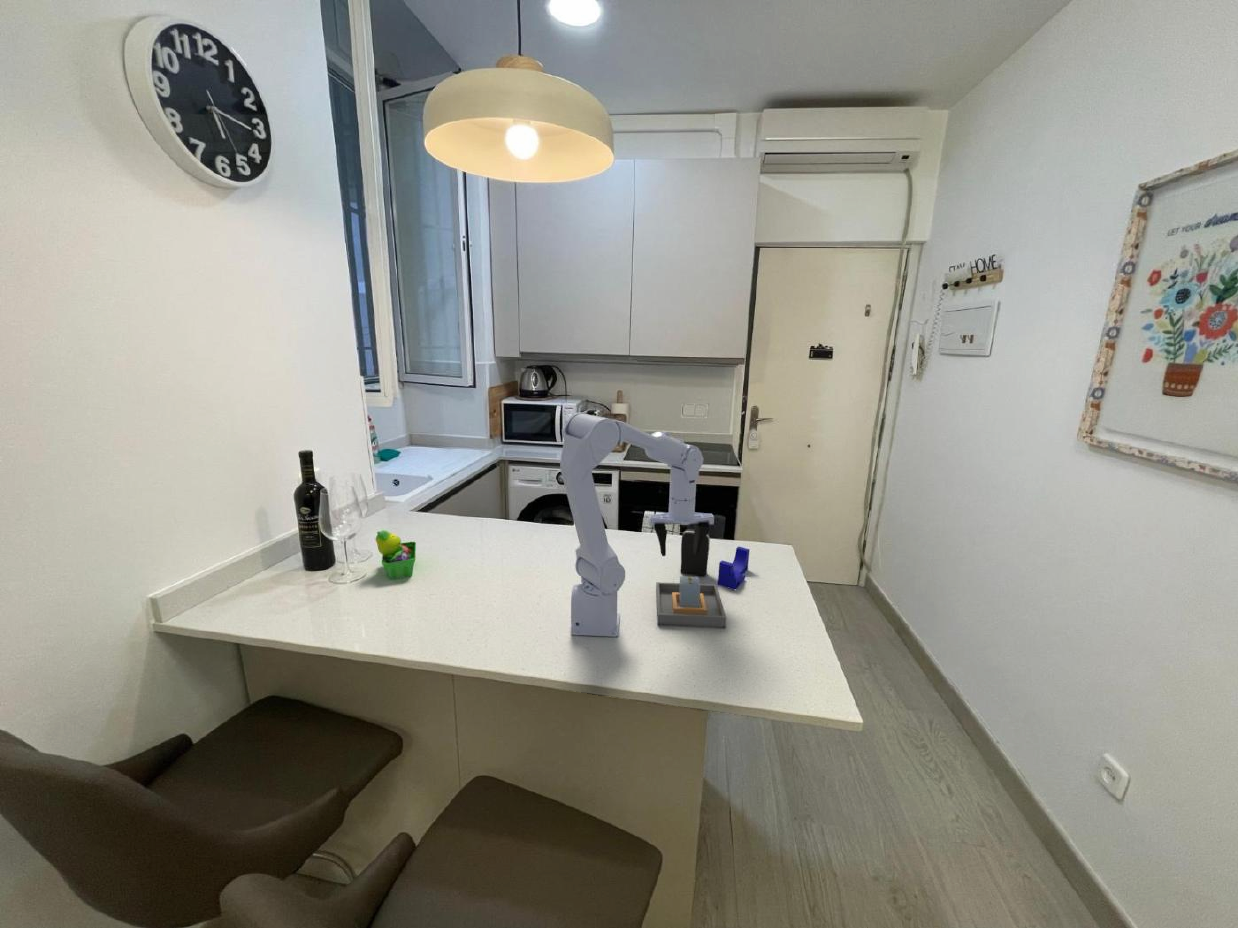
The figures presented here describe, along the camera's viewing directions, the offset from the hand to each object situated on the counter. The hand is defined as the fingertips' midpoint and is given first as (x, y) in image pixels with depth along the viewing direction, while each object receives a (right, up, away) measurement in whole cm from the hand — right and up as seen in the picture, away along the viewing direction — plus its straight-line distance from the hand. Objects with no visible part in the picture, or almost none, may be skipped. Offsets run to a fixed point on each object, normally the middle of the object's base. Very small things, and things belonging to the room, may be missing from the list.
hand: (679, 553), depth 113 cm
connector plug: (+2, -11, -4) cm, 12 cm away
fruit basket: (-70, -7, +13) cm, 71 cm away
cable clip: (+16, -9, +12) cm, 21 cm away
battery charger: (+5, -7, +14) cm, 17 cm away
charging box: (+2, -12, -3) cm, 12 cm away
